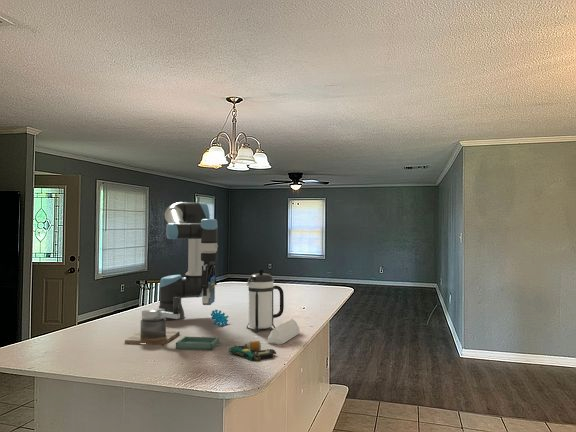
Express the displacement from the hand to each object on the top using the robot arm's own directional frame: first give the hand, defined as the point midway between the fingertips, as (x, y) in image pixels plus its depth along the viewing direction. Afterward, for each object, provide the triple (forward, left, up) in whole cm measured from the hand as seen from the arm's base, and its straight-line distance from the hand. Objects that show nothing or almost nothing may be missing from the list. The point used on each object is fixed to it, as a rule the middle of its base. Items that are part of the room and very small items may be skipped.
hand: (208, 301), depth 200 cm
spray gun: (+25, +26, -17) cm, 40 cm away
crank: (+8, -19, -8) cm, 22 cm away
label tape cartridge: (0, 0, -1) cm, 1 cm away
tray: (+15, 0, -17) cm, 22 cm away
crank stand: (+6, -24, -17) cm, 30 cm away
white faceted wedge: (-2, +35, -17) cm, 39 cm away
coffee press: (-19, +22, -17) cm, 34 cm away
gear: (-25, -1, -17) cm, 30 cm away
